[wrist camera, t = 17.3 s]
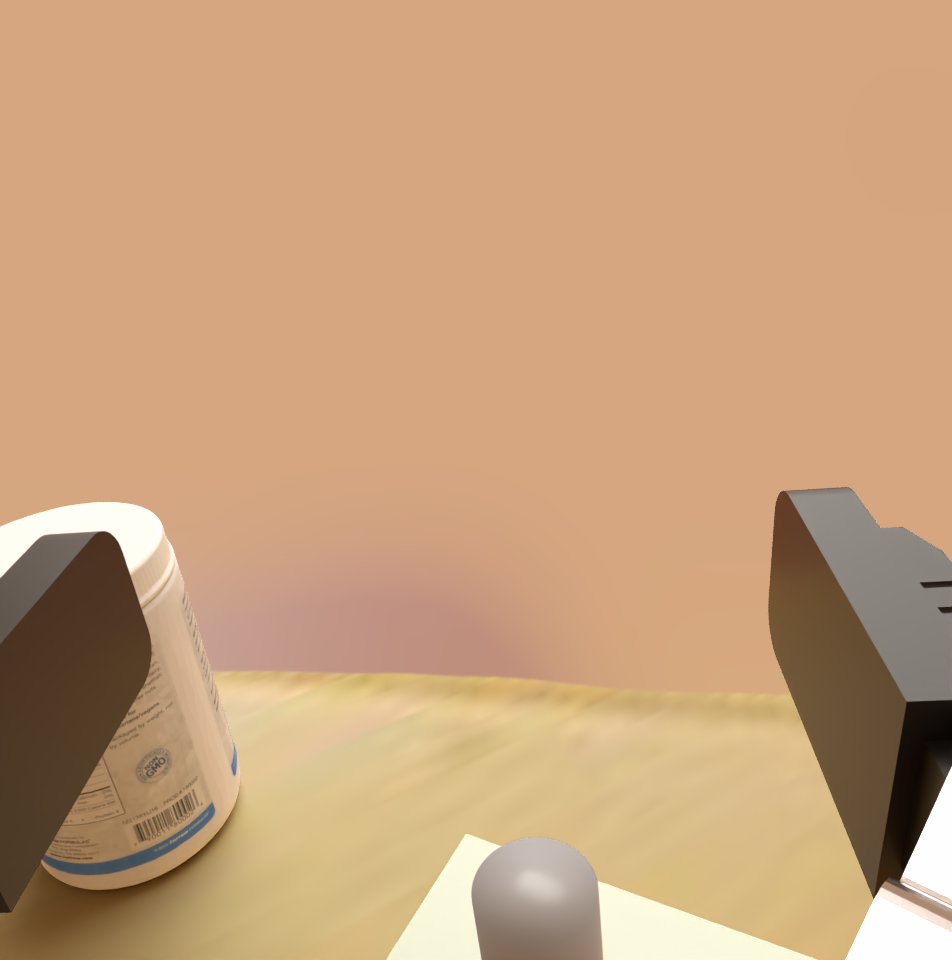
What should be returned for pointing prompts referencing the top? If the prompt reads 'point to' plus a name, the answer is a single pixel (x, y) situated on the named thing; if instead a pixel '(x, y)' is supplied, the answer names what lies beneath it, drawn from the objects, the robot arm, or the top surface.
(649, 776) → the top surface
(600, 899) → the lid
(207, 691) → the supplement tub
